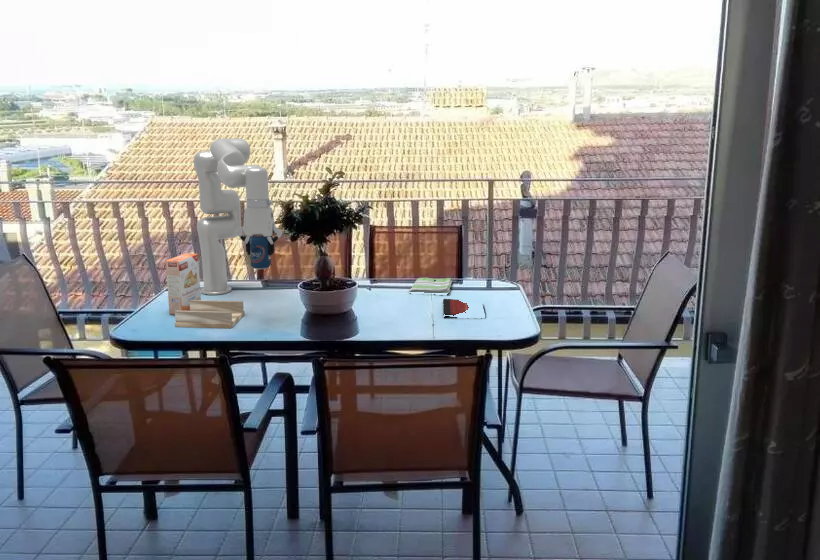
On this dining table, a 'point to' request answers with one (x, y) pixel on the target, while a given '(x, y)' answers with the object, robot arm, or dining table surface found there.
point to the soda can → (259, 252)
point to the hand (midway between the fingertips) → (260, 254)
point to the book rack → (210, 314)
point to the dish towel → (432, 285)
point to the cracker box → (182, 281)
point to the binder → (454, 307)
